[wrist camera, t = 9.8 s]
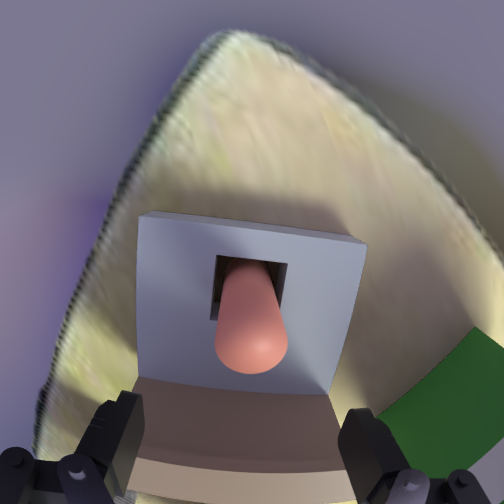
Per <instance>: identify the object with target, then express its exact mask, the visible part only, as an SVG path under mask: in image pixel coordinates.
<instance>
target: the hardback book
mask: <svg viewBox="0 0 504 504" xmlns="http://www.w3.org/2000/svg"><path fill="white" fill-rule="evenodd" d="M375 419H380V420H381V421H383V422H384V423H385V424H386V425H387V426H388V427H389V429H390V431H391V432H392V434H393V436H394V438H395V440H396V441H397V443H398V445H399V447H400V448H401V450H402V452H403V454H404V456H405V458H406V459H407V461H408V463H409V465H410V467H411V468H412V469H417V470H420V471H422V472H424V473H425V474H426V475H427V476H428V478H447V477H448V476H449V475H450V473H451V472H452V471H454V470H457V469H465V470H468V471H470V472H471V473H473V474H474V475H475V477H476V479H477V480H478V482H479V483H480V485H481V487H482V489H483V490H484V492H485V494H486V495H487V497H488V499H489V500H490V502H491V504H504V348H503V347H502V346H500V345H499V344H498V343H496V342H495V341H494V340H492V339H491V338H490V337H488V336H487V335H486V334H484V333H483V332H482V331H480V330H479V329H478V328H476V327H474V328H473V329H472V330H471V332H470V333H469V334H468V335H467V336H466V337H465V338H464V339H463V340H462V341H461V342H460V343H459V344H458V346H457V347H456V348H455V349H454V350H453V351H452V352H451V353H450V354H449V355H448V356H447V357H446V358H445V359H444V360H443V361H442V362H441V363H440V364H438V365H437V366H436V367H435V368H434V369H433V370H432V371H431V372H430V373H429V374H428V375H427V376H426V377H425V378H423V379H422V380H421V381H420V382H419V383H418V384H417V385H416V386H414V387H413V388H412V389H411V390H410V391H409V392H407V393H406V394H405V395H404V396H403V397H401V398H400V399H399V400H398V401H397V402H395V403H394V404H393V405H392V406H390V407H389V408H388V409H386V410H385V411H384V412H383V413H381V414H380V415H379V416H377V417H376V418H375Z"/></svg>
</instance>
